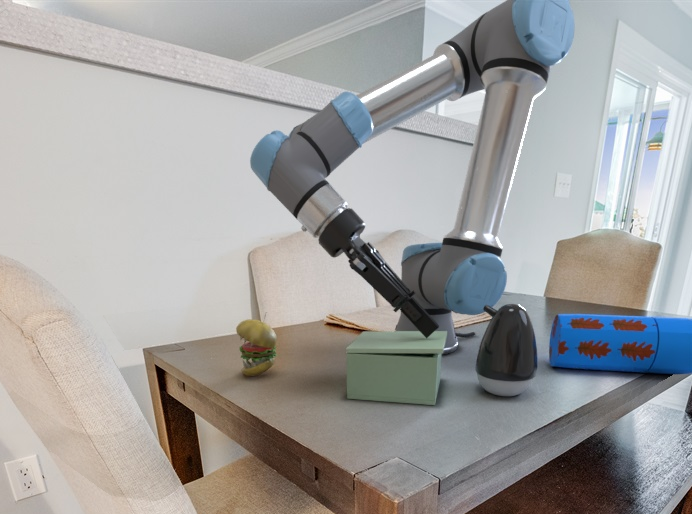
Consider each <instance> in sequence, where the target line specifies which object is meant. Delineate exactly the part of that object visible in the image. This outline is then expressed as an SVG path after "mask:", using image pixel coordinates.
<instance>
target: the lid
mask: <svg viewBox="0 0 692 514" xmlns="http://www.w3.org/2000/svg"><path fill="white" fill-rule="evenodd" d="M446 338H447V331H434V332H433V333H432V334H431V335H430V336H429V337H428V338H426V337H425V336H424V335H423V334H422V333H421V332H420V331H395V330H379V331H378V330H375V331H374V330H370V331H369V330H367V331H366V330H365V331H361V333H360V334H359V335H358V336H357V337H356V338H355V339H354V340H352V342H351V343H350V344H349V345H348V346H347V347H346V351H345V352H346V353H436V354H442V355H444V354H443V352H444V347H445V343H446ZM346 353H345V354H346Z"/></svg>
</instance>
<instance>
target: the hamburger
mask: <svg viewBox="0 0 692 514" xmlns="http://www.w3.org/2000/svg"><path fill="white" fill-rule="evenodd" d="M267 313H268V312H267V311H266V312H265V314H264V315H263V321H261V320H258V319H248V318H247V319H244V320H242V321H240V322H239V323H238V324H237V326H236V328H235V331H236V334H237V335H238V336H239V339H240V340H239V341H240V342H241V341H242V339H243V343H242V344H241V346H239V351H240V353H241V355H240V358H242V363H243V367H242V368H241V370H240V371H241V373H242V375H244V376H246V377H254V376H258V375H261V374H263V373H265V372H267V371H268V370H270V369H271V368H272V367H273V366H274V364H275V362H276V357H277V355H278V353H277V352H276V351H277V346H276V345H277V341H278V338H277V336H278V335H277V334H276V332H275V330H274V328H272V327H271V326H270V325H268V324H267V323H265V320H266V316H267ZM250 359H251V362H250Z"/></svg>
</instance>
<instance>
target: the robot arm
mask: <svg viewBox="0 0 692 514" xmlns="http://www.w3.org/2000/svg"><path fill="white" fill-rule="evenodd" d="M574 36H575V15H574V11H573V9H572V7H571V2H570V0H505V1H503V2H502V3H499V4H498V5H496V6H495V7H493V8H491V9H490V10H488V11H486V12H485V13H483V14H481V15H480V16H479V17H478V18H476V19H475V20H474V21H472V22H471V23H469V24H468V25H467V26H466V27H464V28H463V29H462V30H461V31H460V32H459V33H457V34H456V35H454V36H452V37H451V38H450V39H449V40H447V41H445V42H443V43H441V44H439V45H438V46H436V48H435V49H434V51H433V54H432V55H431V56H430V57H427V58H426V59H424V60H421V61H420V62H418V63H416V64H413V65H412V66H410V67H408V68H406V69H404V70H402V71H401V72H399V73H397V74H395V75H393V76H390V77H389V78H387V79H384V80H383V81H381V82H380V83H377V84H375V85H374V86H372V87H370V88H368V89H365V90H364V91H362V92H359V94H354V93H353V92H351V91H342V92H341V93H340V94H338V95H337V96H336V97H334V99H331V100H330V101H329V103H328V104H326V106H324V107H323V108H322V109H321V110H320V111H319V112H317V113H315V114H314V115H312V116H311V117H310V118H308V119H306V120H305V121H304V122H301V123H300V124H298V125H296V126H294V127H293V128H292V130H290V132H289V133H288V135H287V134H285V133H283V131H281V130H277V129H276V130H273V131H272V130H271V132H270V133H267V134H265V135H264V136H263V137H261V139H260V140H259V141H258V142H257V143H256V145H255V146H254V148H253V150H252V151H251V155H250V157H249V158H250V159H249V164H250V165H249V166H250V169H251V170H252V172H253V173H254V175H256V177H257V178H258V179H259V180H260V181H261V183H262V184H263V185H264V187H266V190H267V191H268V192H270V193H271V194H272V195H273V196H274V197H275V199H277V201H279V203H281V204H282V206H284V208H286V210H287V211H288V212H289V213H290V214H291V215H292V216H293V217H294V218H295V219H296V220H297V221H298V222H299V223H300V224H301V225H302V226H301V227H300V229H301V231H303V232H304V233H305V232H307V233H309V234H310V235H311V236H312V237H313V238H314V239H317V238H318V241H317V242H318V244H319V245H320V246H321V247H322V249H323V250H324V251H325V252H326V253H327V254H328V255H329V256H330V258H334V259H335V258H338V257H340V256H341V255H342V254H344V255H345V256H346V258H347V259H348V260H347V261H348V263H349V267H350V269H351V270H353V271H354V272H355V273H357V274H358V275H359V276H360V277H361V278H362V279H363V280H364V281H366V282H367V284H369V285H370V286H371V288H373V290H375V291H376V292H377V293H378V294H379V295H380V296H381V297H382V298H383V299H384V300H385V301H387V303H388V304H389V305H390V306H391V307H392V308H393V309H392V311H393V312H394V313H397V312H398V311H400V315H399V318H398V321H397V324H396V325H395V328H394V331H420V332H421V333H422V334H423V335H424V336H425V337H426V338H428V337H429V336H430V335H431V334H432V333H433V332H434V331H447V338H446V343H445V347H444V352H443V354H442V355H447V354H451V353H453V352H456V350H457V349H458V338H470V337H474V336H475V335H476V333H475V332H474V331H472V332H471V331H470V332H468V333H463V332H456V329H455V324H454V320H453V316H452V313H455V314H459V315H467V316H478V315H482V314H484V313H486V312H485V311H484V310H483V308H484V306H485V305H488V306H490V307H492V308H494V306H495V305H496V304H498V302H499V301H500V300H501V298H502V296H503V294H504V292H505V289H506V286H507V281H508V273H507V271H506V269H505V268H506V266H505V264H504V262H503V261H502V259H501V257H502V255H503V250H504V248H503V246H502V244H501V242H500V240H499V238H498V237H499V234H500V231H501V226H502V221H503V219H504V214H505V211H506V207H507V203H508V199H509V195H510V192H511V188H512V184H513V181H514V180H513V179H514V176H515V172H516V170H517V169H516V168H517V165H518V162H519V161H518V160H519V157H520V154H521V149H522V146H523V141H524V138H525V134H526V131H527V126H528V122H529V119H530V115H531V111H532V107H533V104H534V100H535V99H536V98H537V97H539V96H540V95H541V94H543V93H544V92H545V91H546V88H547V84H548V80H549V79H550V78H549V77H550V74H551V70H552V66H555V65H557V64H558V63H561V61H562V60H563V59H564V58H565V57H566V56H567V55H568V53H569V52H570V50H571V47H572V45H573V41H574ZM483 90H484V92H485V94H484V97H483V103H482V107H481V111H480V115H479V119H478V122H477V128H476V131H475V136H474V141H473V145H472V148H471V153H470V157H469V162H468V166H467V170H466V174H465V178H464V183H463V186H462V192H461V195H460V200H459V204H458V207H457V212H456V217H455V221H454V224H453V229H452V230H451V231H449V232H448V233H447V234H445V235H443V238H442V242H427V243H415V244H410V245H407V246H405V247H404V248H403V250H402V254H401V262H400V266H401V278H400V277H399V276H398V274H397V273H396V272H395V270H393V268H392V267H391V266H390V265H389V263H388V262H386V260H385V258H383V256H382V255H381V253H380V251H379V250H378V249H376V248H375V246H374V245H373V244H372V243H371V242H370V241H368V242H365V241H364V240H363V239H362V238H361V237H360V236H361V234H363V232H364V230H365V229H366V223H365V221H364V220H363V218H361V217H360V215H358V214H357V212H356V211H355V210H354V209H353V208H352V207H351V208H350V207H348V202H347V201H346V200H345V199H344V197H343V196H342V195H341V194H340V193H339V191H337V190H336V188H334V187H333V186H332V184H330V182H329V181H328V180H326V179H327V178H328V177H330V175H331V173H333V172H334V171H335V170H336V169H337V168H338V167H339V166H340V165H342V164H343V163H344V162H345V161H346V160H347V159H348V158H349V157H350V156H352V155H353V154H354V153H355V152H356V151H358V149H359V148H360V149H361V148H362V146H363V145H364V144H366V143H367V142H369V141H371V140H373V139H375V138H377V137H378V136H381V135H382V134H384V133H386V132H388V131H390V130H391V129H392V130H393V128H395V127H397V126H400V125H401V124H403V123H405V122H407V121H408V120H411V119H412V118H414V117H416V116H418V115H420V114H421V113H423V112H425V111H427V110H429V109H431V108H433V107H434V106H437V105H438V104H440V103H442V102H444V101H446V100H447V101H449V102H455V101H458V100H459V99H461V98H463V97H466V96H468V95H470V94H471V95H472V94H473V93H476V92H479V91H483Z"/></svg>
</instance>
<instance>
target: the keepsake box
mask: <svg viewBox="0 0 692 514" xmlns="http://www.w3.org/2000/svg"><path fill="white" fill-rule="evenodd" d="M442 356H443V354H436V353H345V357H346V359H345V360H346V398H347V399H348V400H361V401H373V402H374V401H375V402H387V403H398V404H399V403H400V404H412V405H425V406H427V405H428V406H436V402H437V397H438V394H439V393H438V392H439V388H440V382H441V374H442V373H441V370H442Z"/></svg>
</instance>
